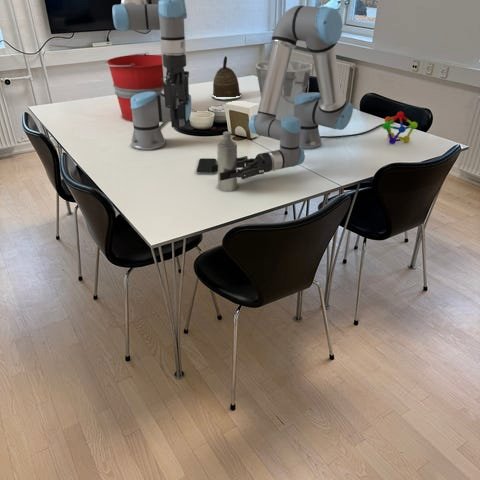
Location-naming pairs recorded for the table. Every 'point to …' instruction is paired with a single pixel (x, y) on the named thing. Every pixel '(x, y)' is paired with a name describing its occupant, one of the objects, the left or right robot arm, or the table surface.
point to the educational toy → (398, 128)
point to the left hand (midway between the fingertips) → (179, 125)
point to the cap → (181, 121)
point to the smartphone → (205, 165)
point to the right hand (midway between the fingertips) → (215, 173)
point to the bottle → (227, 161)
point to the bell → (225, 82)
